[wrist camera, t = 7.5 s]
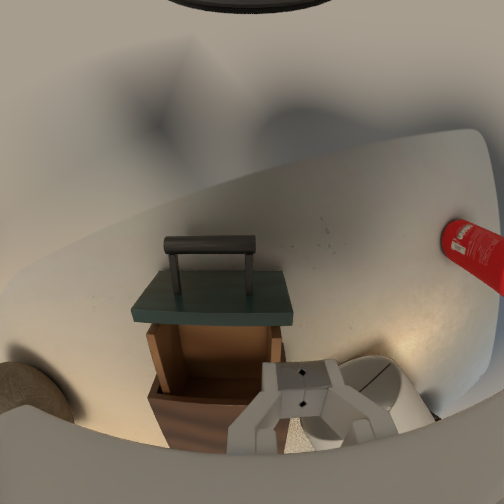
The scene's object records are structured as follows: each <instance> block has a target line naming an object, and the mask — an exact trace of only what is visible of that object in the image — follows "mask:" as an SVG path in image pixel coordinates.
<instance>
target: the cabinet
mask: <svg viewBox="0 0 504 504" xmlns="http://www.w3.org/2000/svg"><path fill="white" fill-rule="evenodd" d="M280 362H286V358H285V351H284V345H283V343H282V344H281V358H280ZM147 398H148V401H149V403H150V405H151V408H152V410H153V413H154V415H155V417H156V419H157V422H158V424H159V426H160V428H161V430H162V433H163V435H164V437H165V439H166V441H167V443H168V445H169V447H170V448H171V449H177V450H185V451H193V452H203V453H216V454H226V450H227V438H228V427H229V426H230V425H231V424H232V423H233V422H234V421H235V420H236V419H237V418H238V416H239V415H240V414H241V413H242V412H243V411H244V410H245V409H246V407H247V406H248V405H249V404H250V403H251V402H252V401H253V400H242V399H211V398H196V397H184V396H174V395H166V394H163V391H162V388H161V385H160V382H159V379H158V376H157V374H156V377H155V379H154V382H153V384H152V387H151V390H150V392H149V395H148V397H147ZM289 422H290V418H284V419H279V421H278V423H277V424H276V426H275V427H274V429H273V430H274V431H276V439H277V451H278V454H284V449H285V444H286V439H287V433H288V427H289Z"/></svg>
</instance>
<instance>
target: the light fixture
mask: <svg viewBox="0 0 504 504" xmlns="http://www.w3.org/2000/svg"><path fill="white" fill-rule="evenodd" d="M338 367H339V369H340V372H341V375H342V377H343V380H344V383H345V385H346V386H347V385H349V386H351V387H352V388H354V389H355V390H357V391H358V392H359V393H361V394H362V395H364V396H365V397H367V398H368V399H370V400H371V401H373V402H374V403H376V404H377V405H379V406H380V407H382V408H384V409H385V408H388V407H391V409H390V410H389V411H388V412H390V414H391V417H392V419H393V421H394V424H395V426H396V428H397V430H398V433H399V434H401V433H404V432H408V431H411V430H414V429H417V428H420V427H423V426H426V425H428V424H431V423H434V422H437V421H439V420H442V419H441V418H439V417H438V416H437V415H435V414H434V413H432V412H431V411H429V409H428V408H427V406H426V405H425V403H424V402H423V400H422V399H421V397H420V396H419V394H418V393H417V391H416V390H415V388H414V387H413V385H412V384H411V382H410V381H409V379H408V378H407V376H406V375H405V373H404V372H403V371H402V369H401V368H400V366H399V365H398V364H397V363H396V362H395V361H394V360H392V359H391V358H388V357H385V356H380V355H370V356H363V357H359V358H355V359H352V360H349V361H347V362H345V363H343V364H341V365H339V366H338ZM300 422H301V426H302V428H303V430H304V432H305V434H306V436H307V437H308V439H309V441H310V442H311V444H312V446H313V447H314V449H315V450H316V451H320V450H327V449H334V448H340V447H341V445H342V443H343V441H344V440H343V439H342V438H341V437H340V436H339V435H338V434H337V433H336V432H335V431H334V430H333V429H332V428H331V427H330V426H329V425H328V424H327V423H326V422H325V421H324V420H323V419H322V418H321V417H320V416H311V417H300Z"/></svg>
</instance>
